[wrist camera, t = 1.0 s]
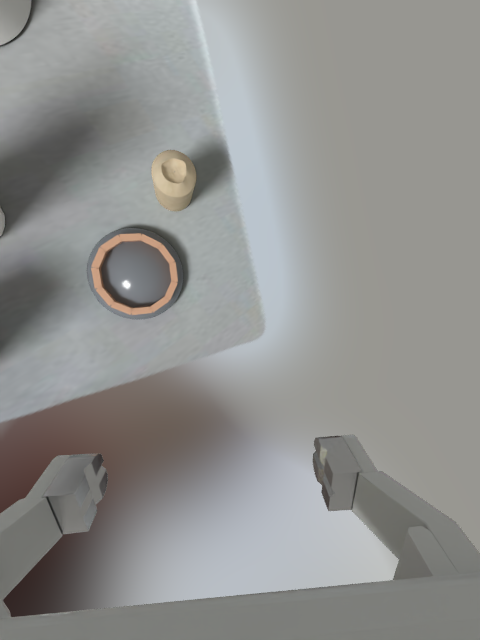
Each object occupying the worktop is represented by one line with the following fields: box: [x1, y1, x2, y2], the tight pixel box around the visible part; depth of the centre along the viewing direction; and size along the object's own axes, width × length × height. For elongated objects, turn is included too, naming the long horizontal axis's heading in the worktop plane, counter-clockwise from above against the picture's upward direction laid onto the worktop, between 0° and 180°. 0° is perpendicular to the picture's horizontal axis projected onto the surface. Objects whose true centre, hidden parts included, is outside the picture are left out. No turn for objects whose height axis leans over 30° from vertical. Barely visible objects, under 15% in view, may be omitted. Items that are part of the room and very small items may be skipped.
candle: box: [151, 150, 196, 211], centre depth 37 cm, size 6×6×10 cm
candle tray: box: [87, 228, 183, 319], centre depth 41 cm, size 14×14×2 cm
